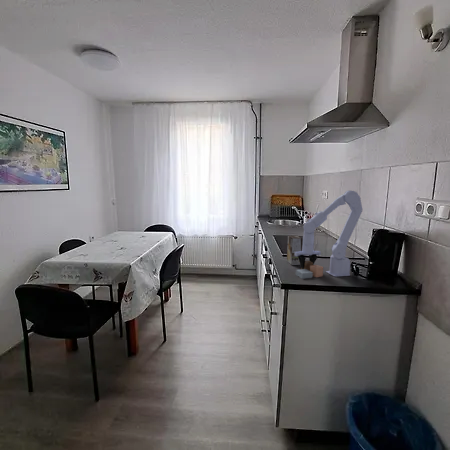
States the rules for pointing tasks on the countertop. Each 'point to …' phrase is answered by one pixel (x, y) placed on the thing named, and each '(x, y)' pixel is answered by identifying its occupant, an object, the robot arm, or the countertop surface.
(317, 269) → the terracotta block
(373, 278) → the countertop surface
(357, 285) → the countertop surface
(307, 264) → the walnut block
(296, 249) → the coffee box
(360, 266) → the countertop surface
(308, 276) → the plinth block
